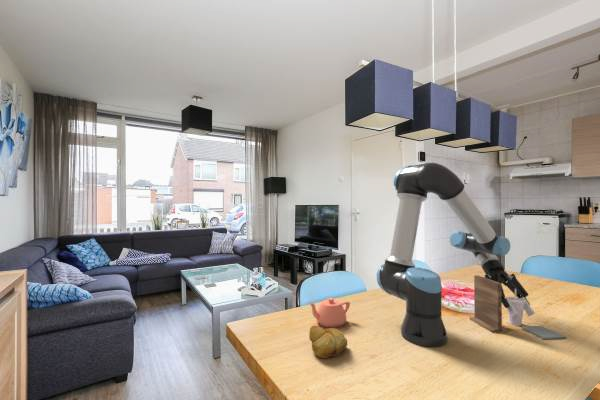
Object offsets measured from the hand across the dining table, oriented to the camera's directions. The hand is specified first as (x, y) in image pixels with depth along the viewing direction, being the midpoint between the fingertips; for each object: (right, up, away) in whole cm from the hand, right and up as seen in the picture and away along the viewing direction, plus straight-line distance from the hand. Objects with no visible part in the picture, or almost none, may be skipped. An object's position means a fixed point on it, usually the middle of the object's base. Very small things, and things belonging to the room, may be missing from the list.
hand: (523, 314), depth 109 cm
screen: (-12, -5, +2) cm, 13 cm away
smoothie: (0, -5, +3) cm, 6 cm away
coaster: (+3, -5, -5) cm, 8 cm away
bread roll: (-76, -5, -18) cm, 78 cm away
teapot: (-74, -5, +5) cm, 74 cm away
